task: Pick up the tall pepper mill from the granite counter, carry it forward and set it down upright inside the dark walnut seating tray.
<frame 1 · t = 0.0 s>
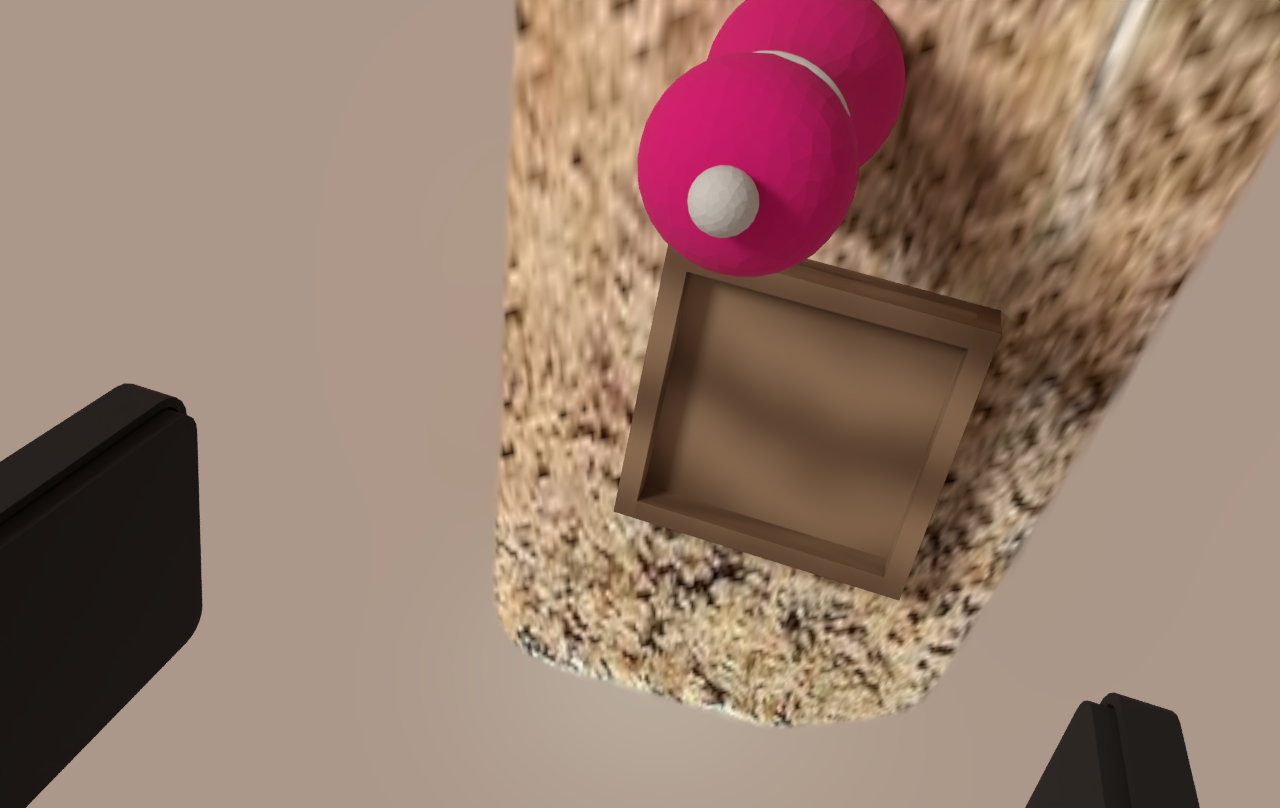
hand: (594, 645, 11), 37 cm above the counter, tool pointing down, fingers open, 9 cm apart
seating tray: (797, 405, 50), on the counter
pepper mill: (818, 62, 44), on the counter
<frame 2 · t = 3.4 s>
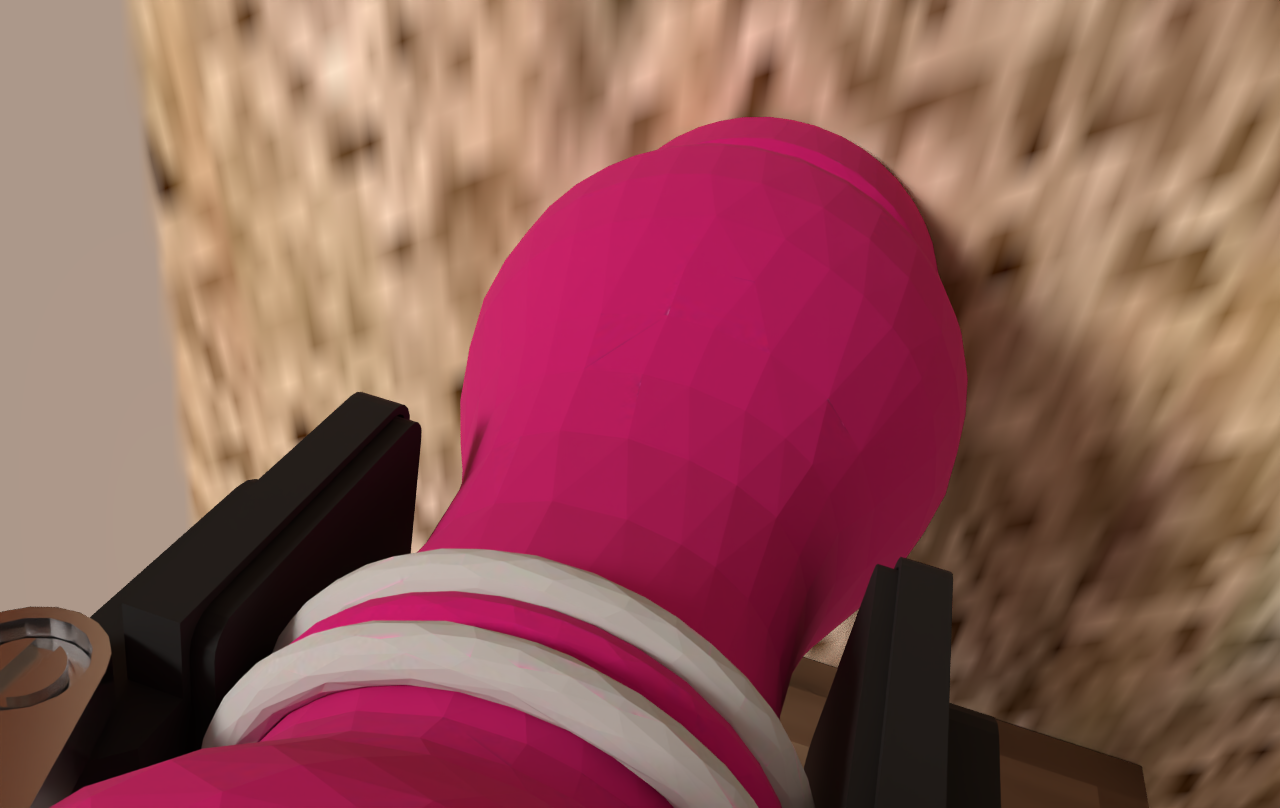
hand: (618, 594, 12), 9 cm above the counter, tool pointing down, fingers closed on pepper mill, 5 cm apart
pepper mill: (764, 283, 20), on the counter, touching gripper
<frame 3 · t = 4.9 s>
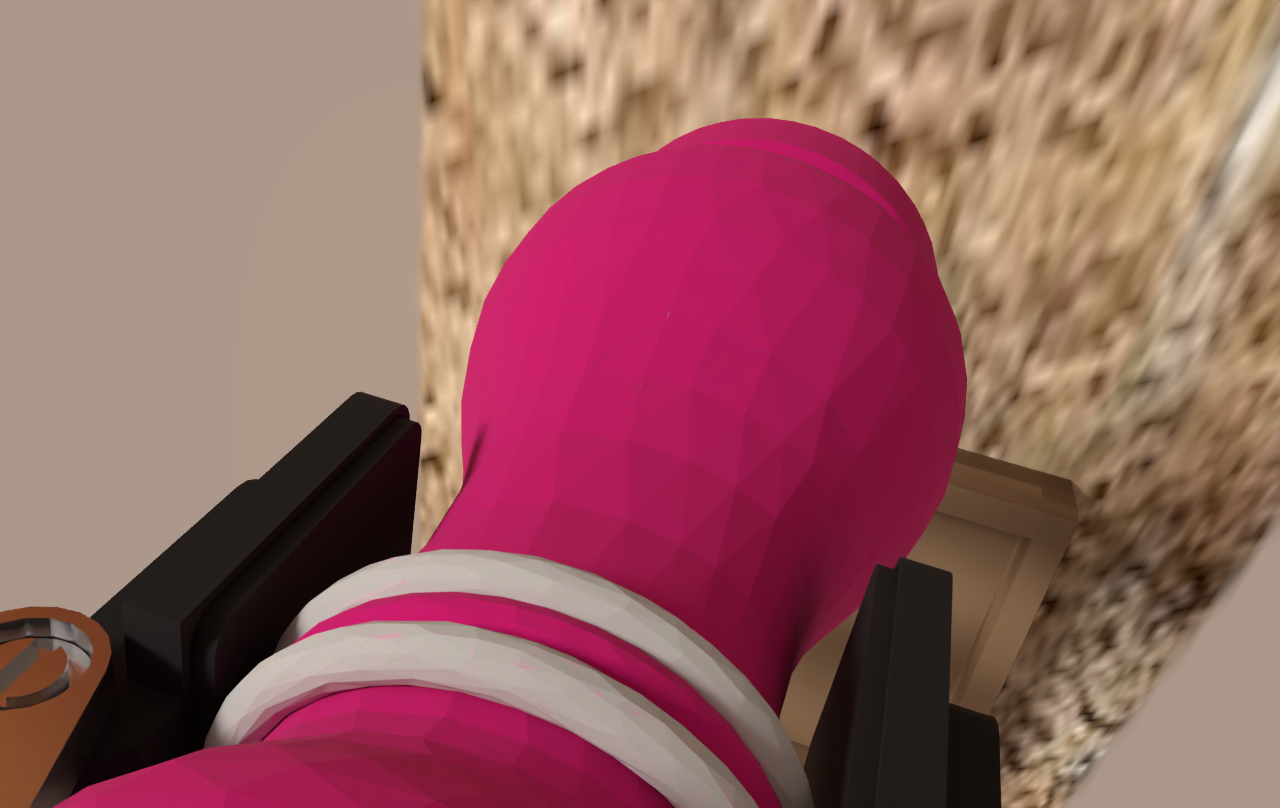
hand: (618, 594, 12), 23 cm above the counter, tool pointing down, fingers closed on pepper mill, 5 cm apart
seating tray: (798, 587, 39), on the counter
pepper mill: (764, 284, 20), point 13 cm above the counter, touching gripper
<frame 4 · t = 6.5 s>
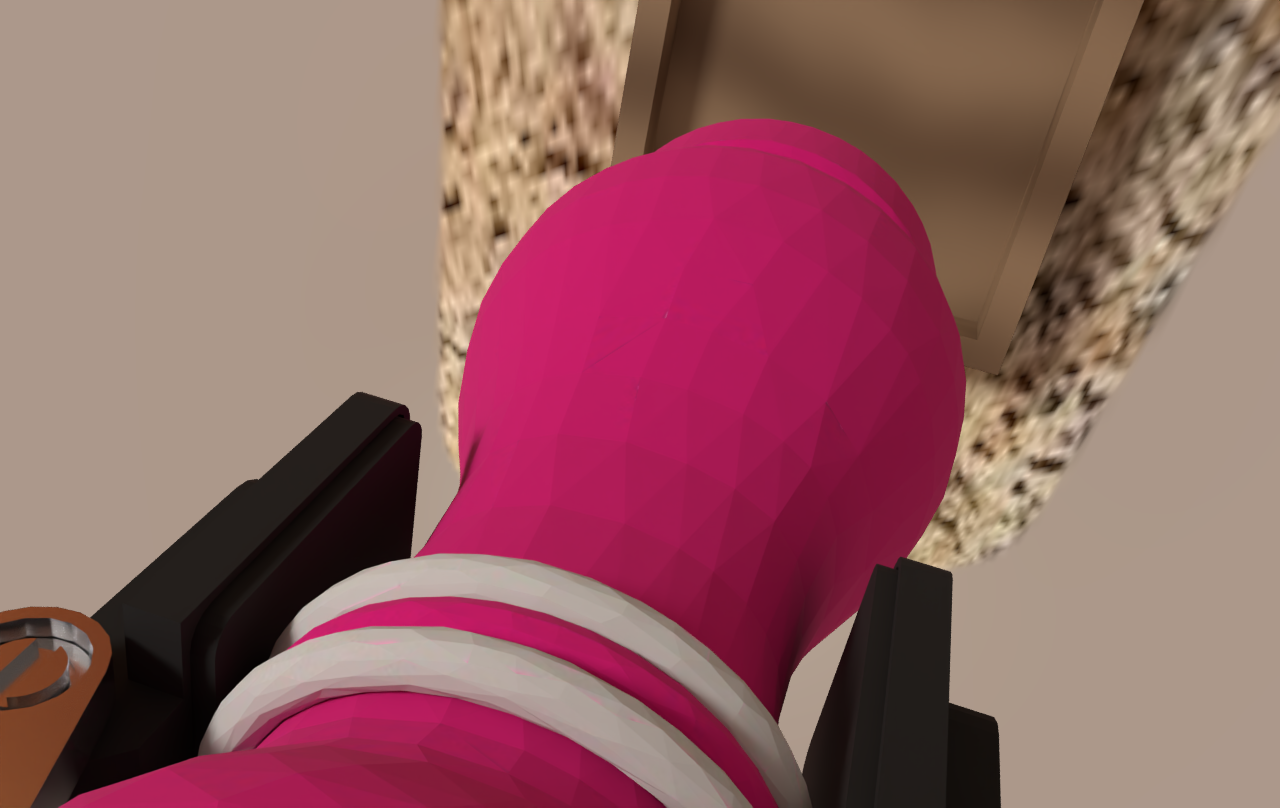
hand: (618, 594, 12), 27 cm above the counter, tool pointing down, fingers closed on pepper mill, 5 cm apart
seating tray: (854, 96, 36), on the counter
pepper mill: (762, 284, 20), point 18 cm above the counter, touching gripper
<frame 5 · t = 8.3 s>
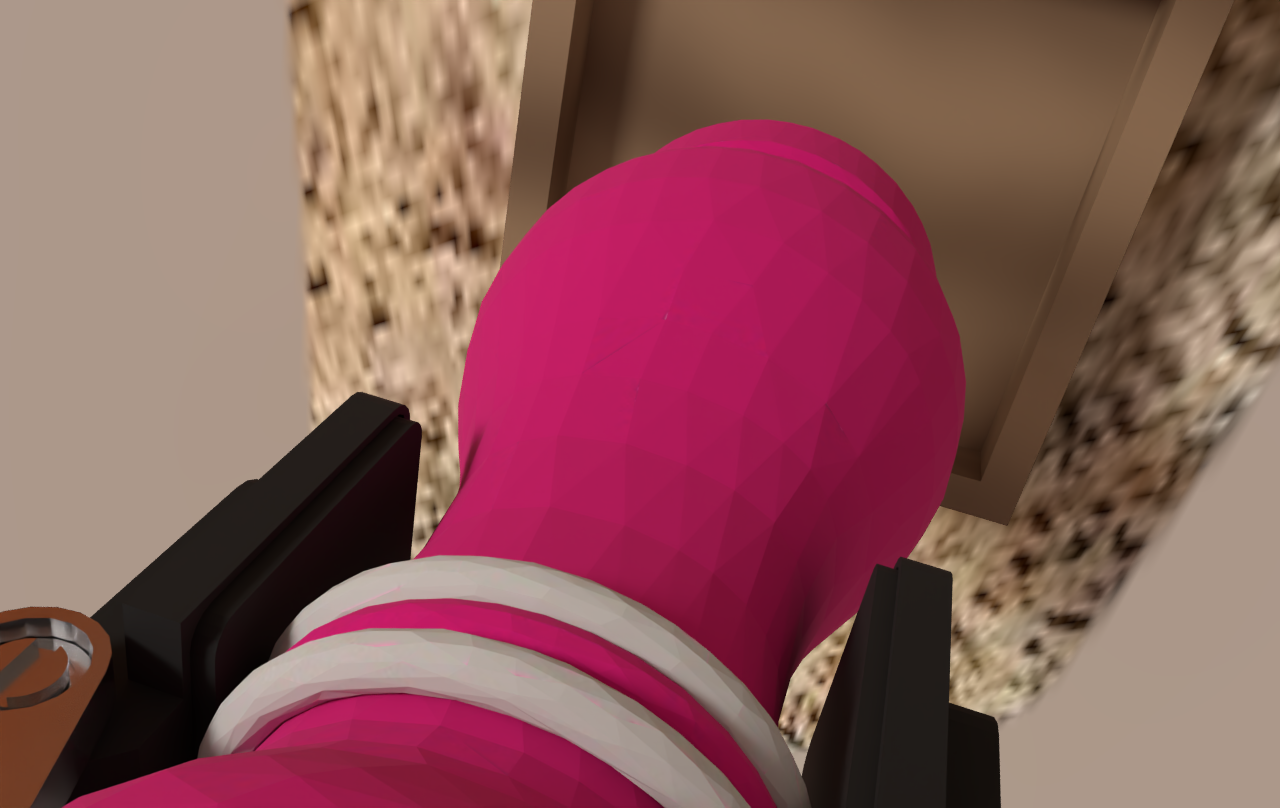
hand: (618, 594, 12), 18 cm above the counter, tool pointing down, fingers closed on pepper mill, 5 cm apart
seating tray: (819, 161, 27), on the counter
pepper mill: (762, 285, 20), point 8 cm above the counter, touching gripper
when the fingers open (12 cm above the counter, at t = 9.9 s): pepper mill drops 1 cm, resting on seating tray.
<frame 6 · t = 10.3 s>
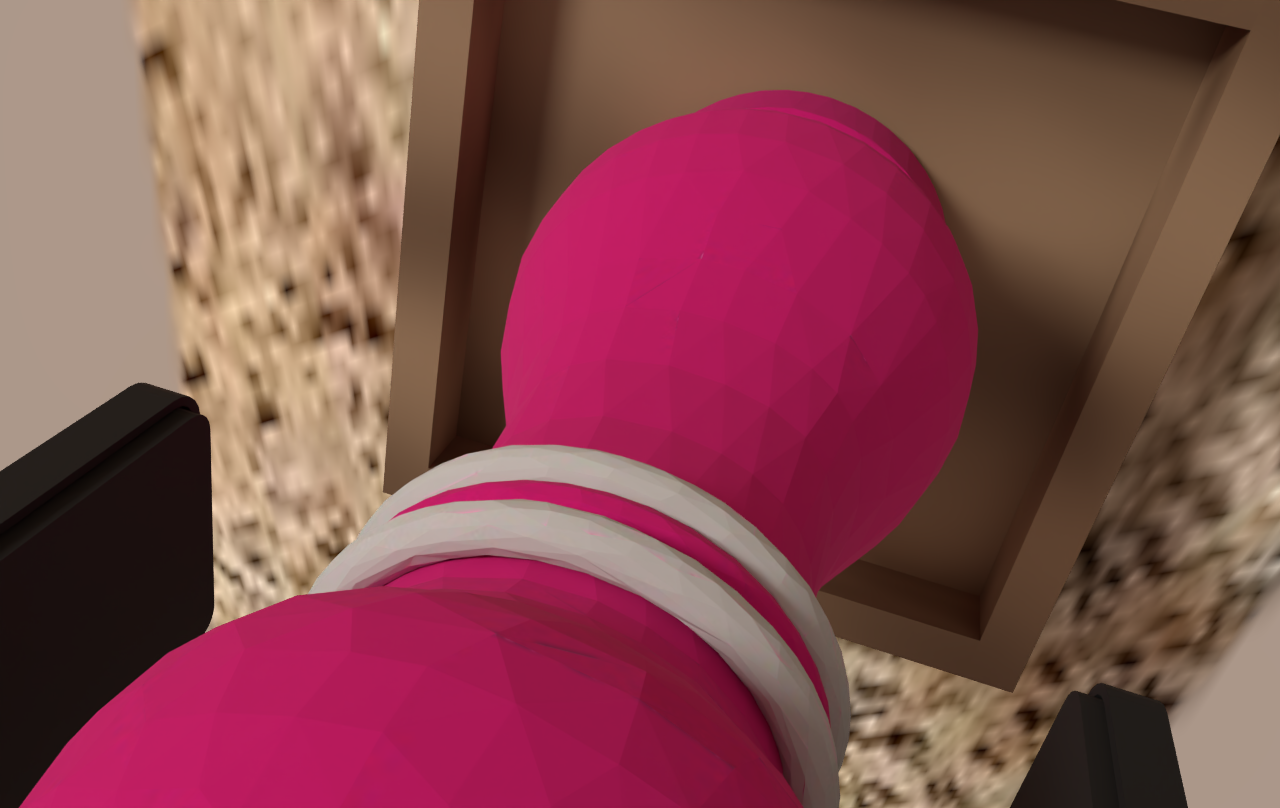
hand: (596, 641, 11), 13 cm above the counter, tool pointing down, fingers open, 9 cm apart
seating tray: (780, 247, 22), on the counter
pepper mill: (781, 250, 21), point 1 cm above the counter, touching seating tray
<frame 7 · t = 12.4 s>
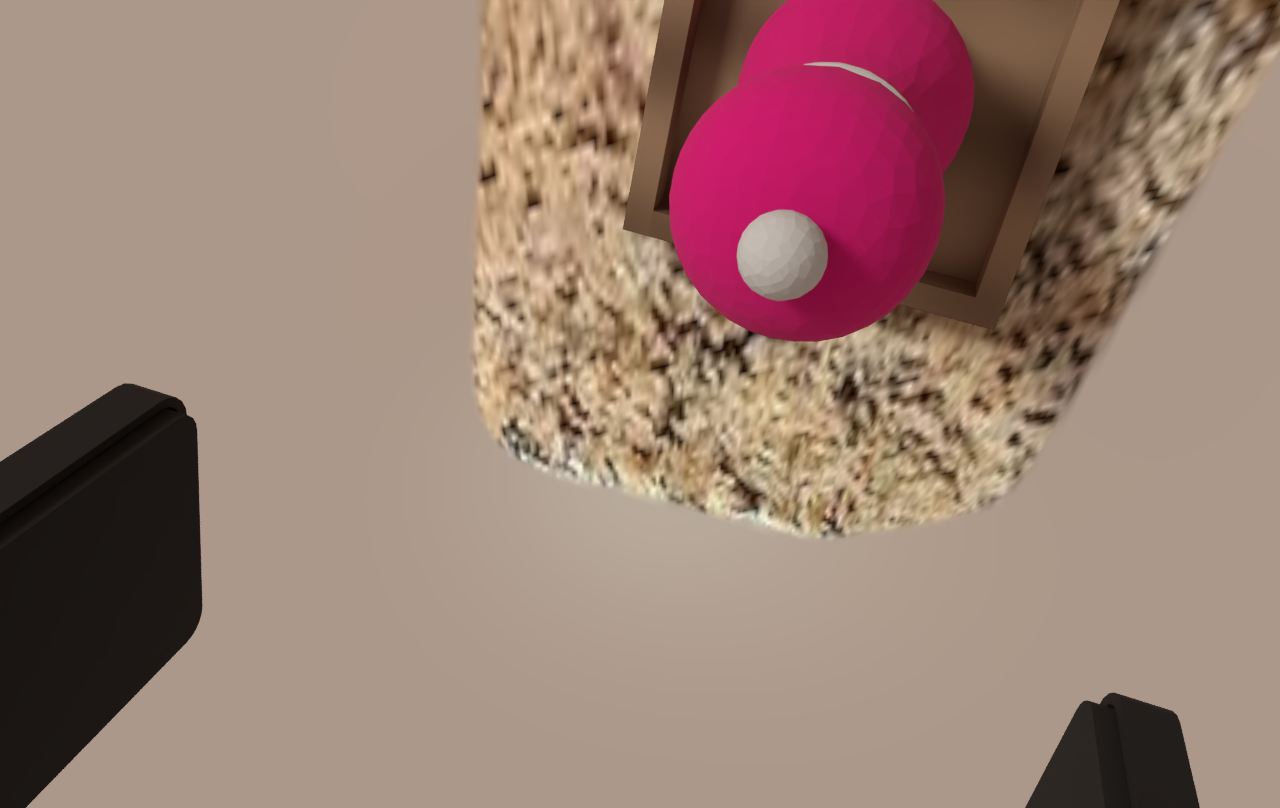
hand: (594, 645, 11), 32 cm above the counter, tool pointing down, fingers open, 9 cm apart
seating tray: (862, 74, 39), on the counter
pepper mill: (865, 72, 38), point 1 cm above the counter, touching seating tray
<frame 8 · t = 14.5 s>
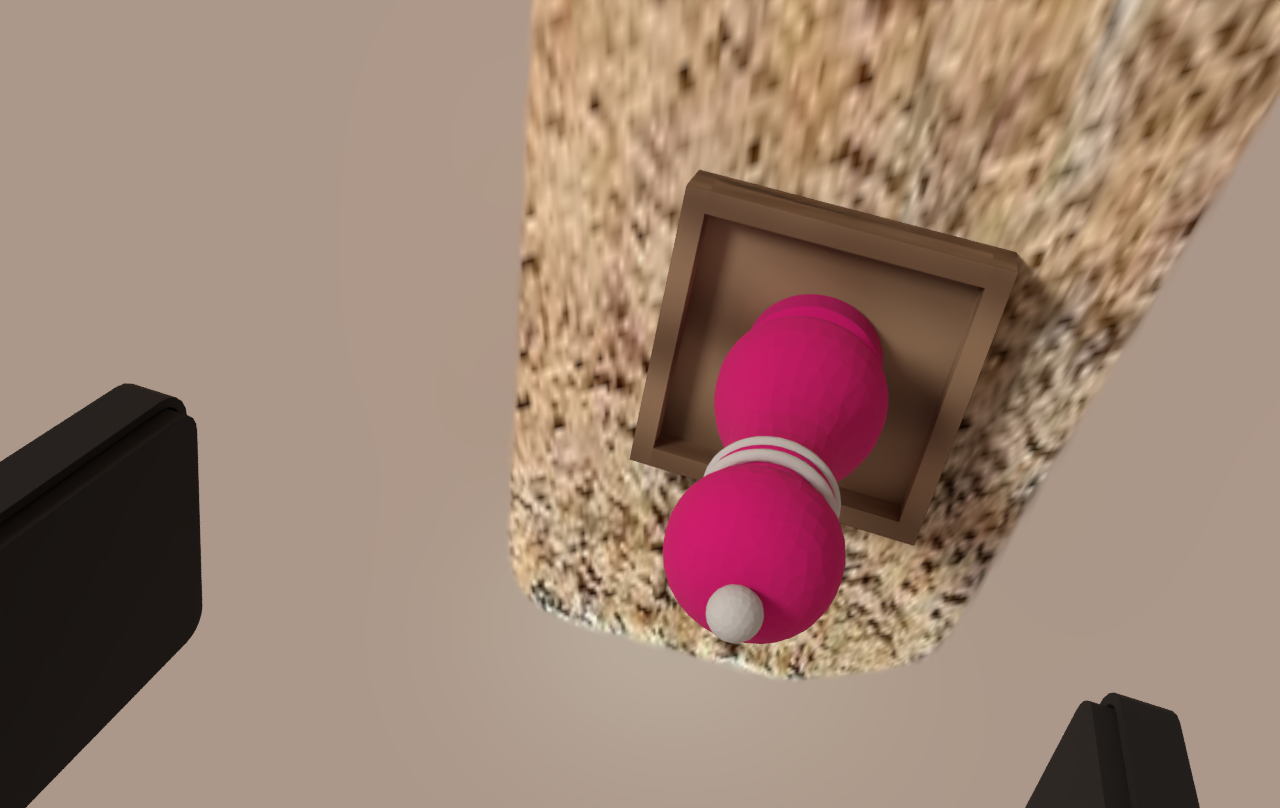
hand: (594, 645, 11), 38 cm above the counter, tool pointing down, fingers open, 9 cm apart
seating tray: (813, 351, 51), on the counter
pepper mill: (813, 355, 50), point 1 cm above the counter, touching seating tray
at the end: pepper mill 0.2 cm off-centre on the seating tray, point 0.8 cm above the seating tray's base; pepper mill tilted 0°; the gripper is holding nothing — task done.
